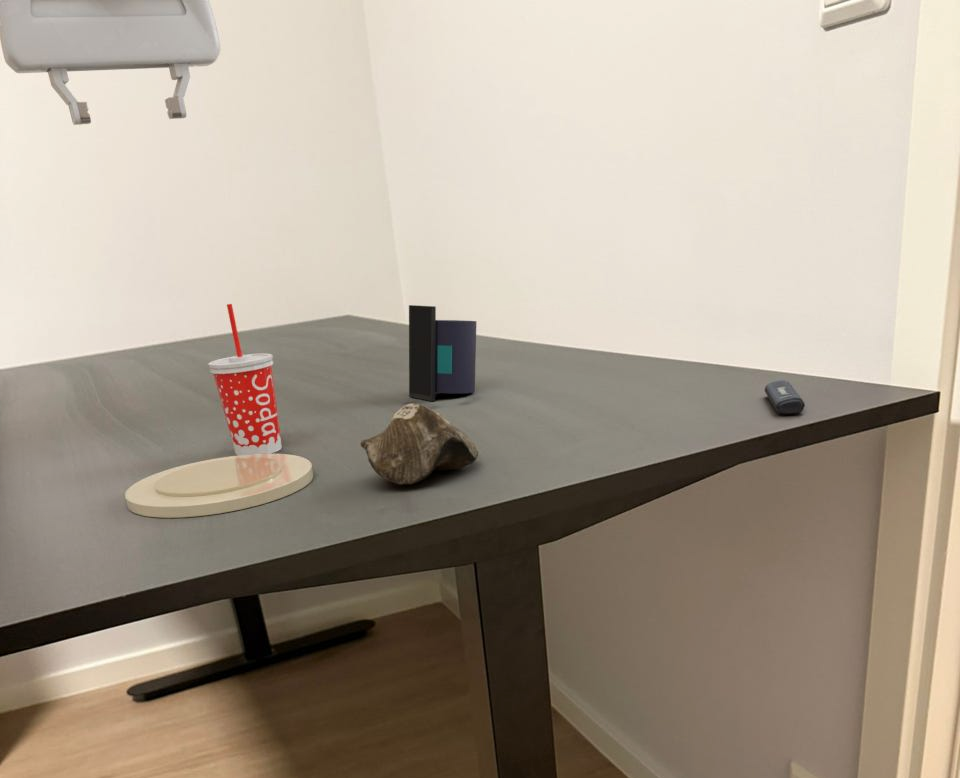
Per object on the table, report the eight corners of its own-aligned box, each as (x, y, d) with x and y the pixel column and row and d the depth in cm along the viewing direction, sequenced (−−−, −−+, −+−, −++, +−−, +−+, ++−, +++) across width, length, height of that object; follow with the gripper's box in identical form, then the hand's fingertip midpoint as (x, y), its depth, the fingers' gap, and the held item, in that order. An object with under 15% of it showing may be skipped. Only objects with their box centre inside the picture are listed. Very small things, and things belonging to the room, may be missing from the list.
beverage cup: (242, 462, 92) (210, 309, 86) (218, 453, 96) (186, 308, 90) (300, 448, 95) (272, 300, 89) (273, 440, 99) (246, 299, 94)
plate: (98, 525, 77) (93, 510, 76) (163, 472, 91) (159, 459, 91) (293, 508, 76) (290, 492, 75) (327, 457, 90) (325, 443, 90)
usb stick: (763, 396, 95) (763, 380, 94) (791, 394, 94) (791, 378, 94) (775, 417, 86) (776, 400, 86) (805, 415, 86) (806, 397, 85)
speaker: (417, 402, 109) (413, 306, 105) (408, 397, 114) (405, 305, 110) (482, 399, 110) (480, 304, 107) (470, 394, 116) (469, 303, 112)
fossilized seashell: (451, 426, 85) (350, 467, 82) (451, 368, 80) (343, 410, 77) (495, 481, 82) (392, 526, 79) (499, 424, 76) (388, 470, 73)
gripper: (-24, -57, 83) (24, 123, 88) (207, -53, 91) (237, 111, 97) (-29, -38, 88) (17, 131, 94) (190, -37, 96) (220, 118, 102)
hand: (131, 121), depth 95 cm, fingers open, 8 cm apart
